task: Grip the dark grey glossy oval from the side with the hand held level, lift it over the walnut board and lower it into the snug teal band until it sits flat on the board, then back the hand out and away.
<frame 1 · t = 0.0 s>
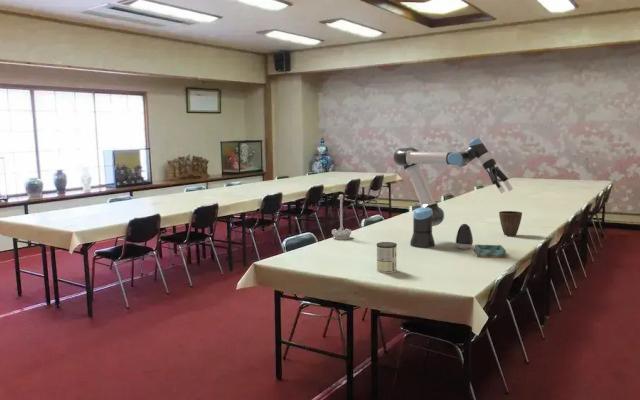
hand: (507, 191, 314), 36 cm above the table, tool tilted 35°, fingers open, 13 cm apart
plant pot: (509, 235, 366), on the table
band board: (489, 254, 310), on the table
coffee can: (386, 271, 276), on the table
dark grey glossy oval: (464, 248, 327), on the table
flag stand: (341, 238, 363), on the table
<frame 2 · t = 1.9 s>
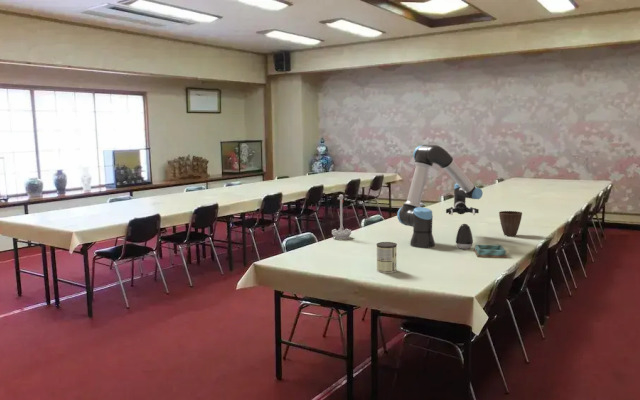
hand: (463, 213, 335), 20 cm above the table, tool horizontal, fingers open, 13 cm apart
nothing on the table moved.
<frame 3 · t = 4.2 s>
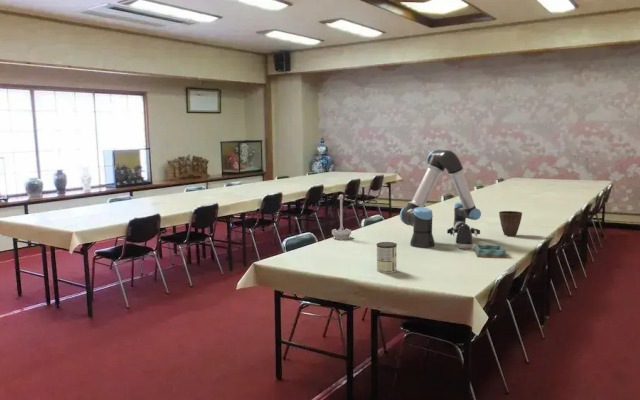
hand: (465, 234, 331), 8 cm above the table, tool horizontal, fingers open, 13 cm apart
nothing on the table moved.
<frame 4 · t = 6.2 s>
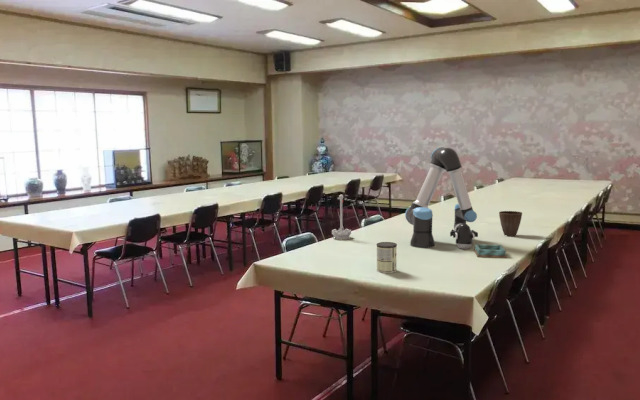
hand: (465, 236, 322), 8 cm above the table, tool horizontal, fingers closed on dark grey glossy oval, 9 cm apart
dark grey glossy oval: (464, 248, 327), on the table, touching gripper
everything else where it was.
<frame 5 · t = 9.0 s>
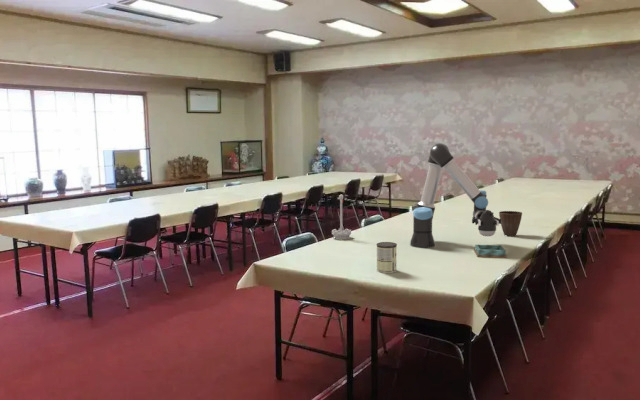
hand: (488, 223, 308), 18 cm above the table, tool horizontal, fingers closed on dark grey glossy oval, 9 cm apart
dark grey glossy oval: (487, 235, 313), point 10 cm above the table, touching gripper
everything else where it was.
when the fingers open (10 cm above the table, at t = 11.7 s): dark grey glossy oval stays where it is, resting on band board.
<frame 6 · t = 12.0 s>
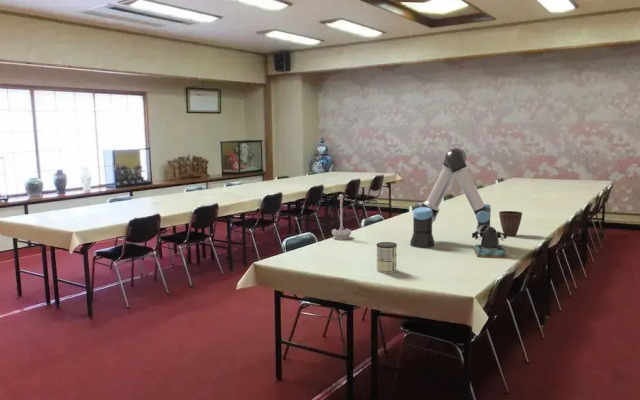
hand: (491, 238, 305), 10 cm above the table, tool horizontal, fingers open, 12 cm apart
dark grey glossy oval: (489, 252, 310), point 1 cm above the table, touching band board
everything else where it was.
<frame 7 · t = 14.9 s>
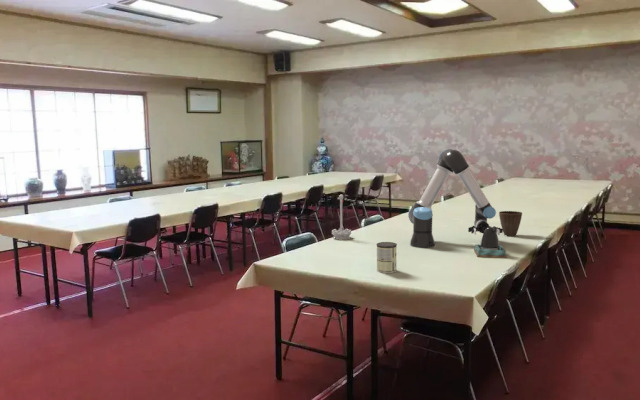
hand: (487, 232, 319), 11 cm above the table, tool horizontal, fingers open, 13 cm apart
nothing on the table moved.
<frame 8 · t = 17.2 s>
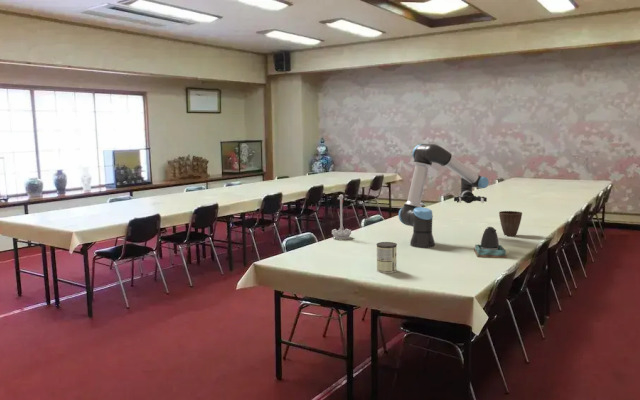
hand: (471, 200, 333), 28 cm above the table, tool horizontal, fingers open, 13 cm apart
nothing on the table moved.
at the end: dark grey glossy oval 0.2 cm off-centre on the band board, point 0.8 cm above the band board's base; dark grey glossy oval tilted 0°; the gripper is holding nothing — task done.
